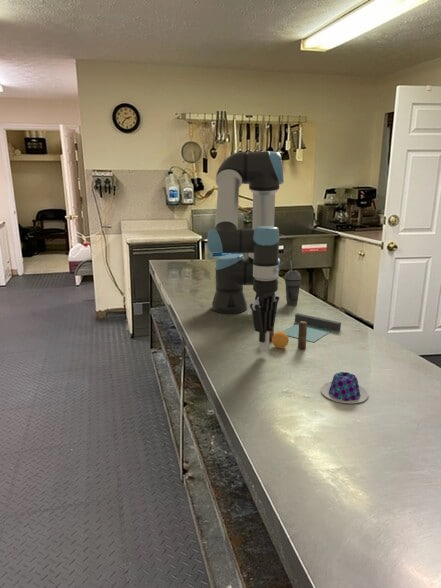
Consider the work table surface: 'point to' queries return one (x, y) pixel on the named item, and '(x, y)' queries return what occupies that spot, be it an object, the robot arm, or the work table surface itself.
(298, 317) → the stopper wall
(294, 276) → the beverage cup
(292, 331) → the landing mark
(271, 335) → the left post
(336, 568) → the work table surface
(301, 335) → the right post
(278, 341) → the ball
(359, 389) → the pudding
